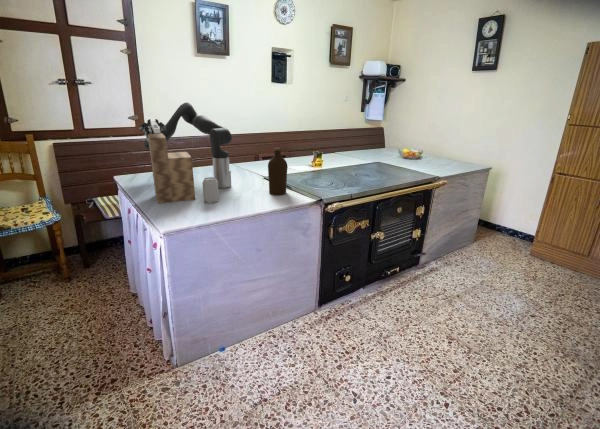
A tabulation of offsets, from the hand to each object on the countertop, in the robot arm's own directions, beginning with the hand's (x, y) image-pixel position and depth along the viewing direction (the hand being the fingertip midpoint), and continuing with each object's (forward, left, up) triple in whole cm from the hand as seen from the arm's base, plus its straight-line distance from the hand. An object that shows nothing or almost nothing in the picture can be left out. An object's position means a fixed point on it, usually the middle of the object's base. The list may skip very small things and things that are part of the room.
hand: (153, 120), depth 175 cm
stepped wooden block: (-6, +12, -38) cm, 40 cm away
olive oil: (-59, +25, -38) cm, 74 cm away
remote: (0, +8, -3) cm, 9 cm away
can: (-22, +26, -38) cm, 51 cm away
